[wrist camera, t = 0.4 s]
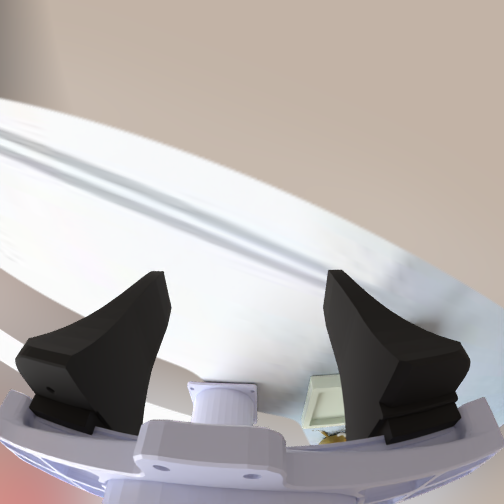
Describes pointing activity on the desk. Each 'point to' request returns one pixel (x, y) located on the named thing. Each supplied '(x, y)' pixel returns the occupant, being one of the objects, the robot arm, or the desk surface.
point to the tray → (323, 403)
